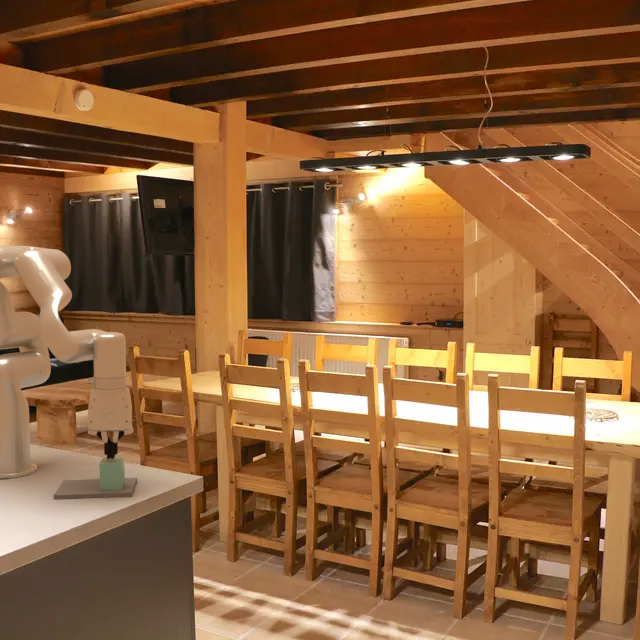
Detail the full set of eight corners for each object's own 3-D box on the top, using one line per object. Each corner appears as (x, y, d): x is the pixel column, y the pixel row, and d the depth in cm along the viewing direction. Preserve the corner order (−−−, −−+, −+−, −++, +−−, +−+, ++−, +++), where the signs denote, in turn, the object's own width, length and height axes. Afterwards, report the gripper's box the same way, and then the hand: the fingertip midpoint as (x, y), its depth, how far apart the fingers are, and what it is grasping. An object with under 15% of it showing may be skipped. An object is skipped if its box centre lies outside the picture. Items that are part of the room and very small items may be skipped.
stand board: (53, 499, 180) (53, 495, 180) (64, 484, 192) (63, 480, 192) (131, 496, 183) (131, 492, 182) (137, 481, 194) (136, 477, 194)
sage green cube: (99, 490, 184) (99, 463, 183) (103, 483, 189) (102, 457, 188) (122, 489, 184) (121, 463, 184) (124, 483, 190) (124, 457, 189)
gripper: (75, 386, 180) (76, 462, 182) (140, 385, 182) (140, 461, 184) (81, 380, 187) (82, 454, 189) (143, 380, 189) (143, 452, 191)
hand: (111, 457), depth 186 cm, fingers closed
